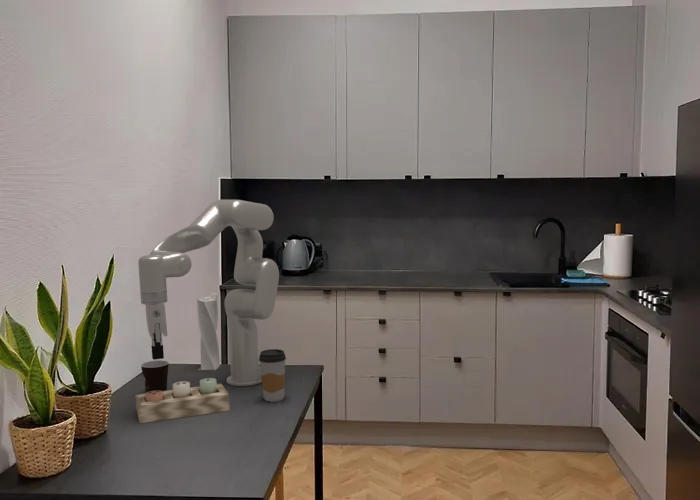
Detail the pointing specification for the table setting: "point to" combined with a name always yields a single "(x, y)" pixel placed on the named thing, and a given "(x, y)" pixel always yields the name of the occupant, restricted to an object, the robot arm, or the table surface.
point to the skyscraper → (208, 332)
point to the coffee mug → (155, 375)
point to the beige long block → (182, 405)
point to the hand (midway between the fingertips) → (158, 358)
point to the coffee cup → (272, 374)
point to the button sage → (208, 386)
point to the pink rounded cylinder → (154, 396)
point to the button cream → (181, 389)
